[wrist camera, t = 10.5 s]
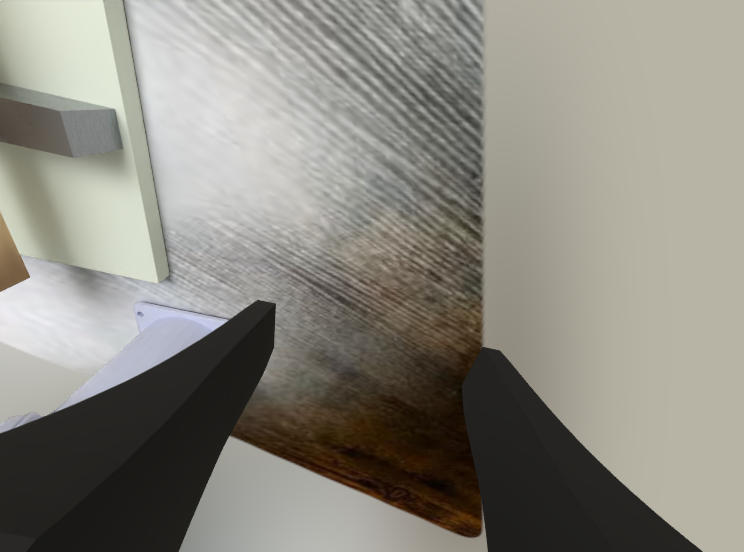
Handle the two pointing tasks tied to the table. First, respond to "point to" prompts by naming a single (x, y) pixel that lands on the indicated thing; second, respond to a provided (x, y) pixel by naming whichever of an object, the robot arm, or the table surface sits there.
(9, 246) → the wooden block
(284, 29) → the table surface
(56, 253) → the balance stand
